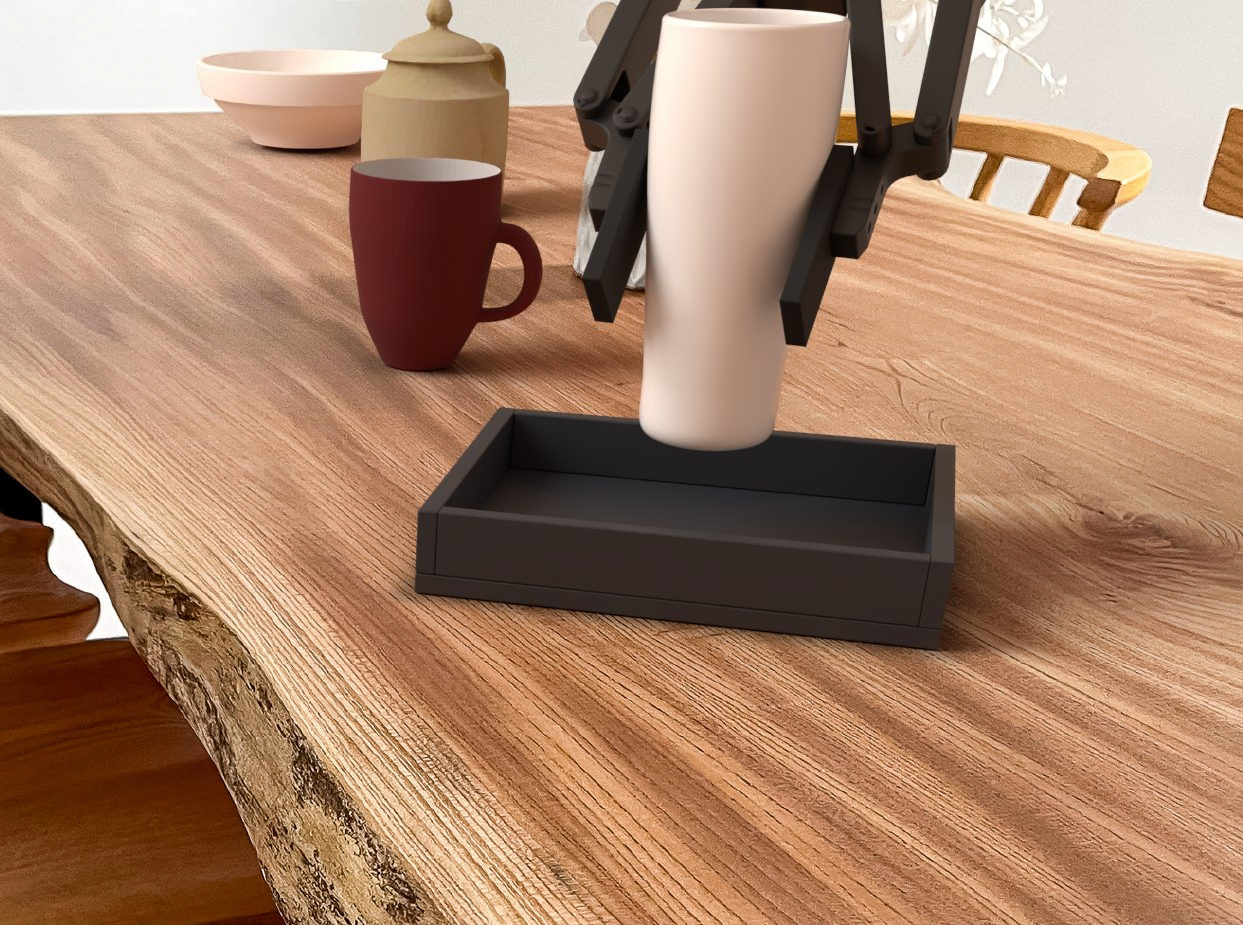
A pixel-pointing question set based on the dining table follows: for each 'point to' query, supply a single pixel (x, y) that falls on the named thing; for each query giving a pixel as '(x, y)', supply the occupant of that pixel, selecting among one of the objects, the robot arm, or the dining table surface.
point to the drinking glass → (730, 211)
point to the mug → (431, 255)
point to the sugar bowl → (438, 98)
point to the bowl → (293, 93)
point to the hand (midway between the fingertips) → (693, 311)
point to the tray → (697, 528)
